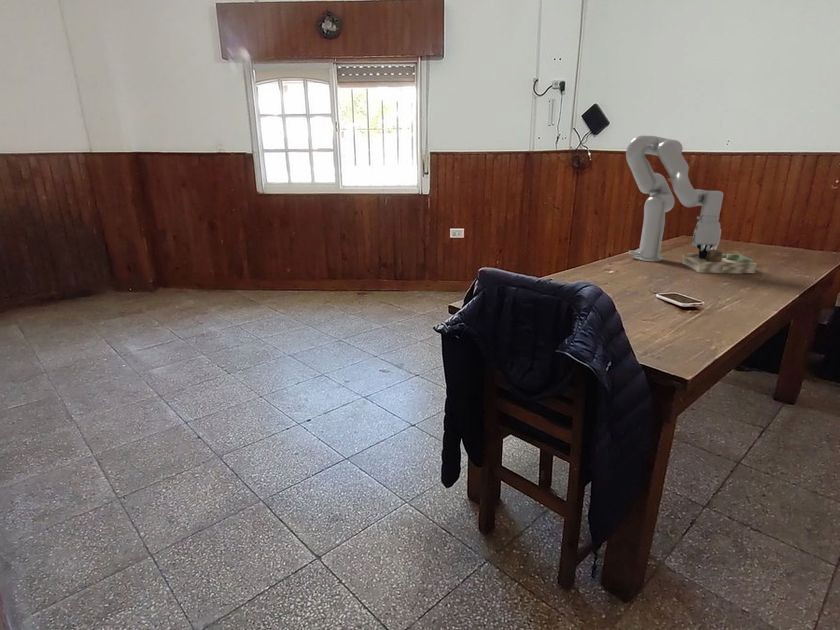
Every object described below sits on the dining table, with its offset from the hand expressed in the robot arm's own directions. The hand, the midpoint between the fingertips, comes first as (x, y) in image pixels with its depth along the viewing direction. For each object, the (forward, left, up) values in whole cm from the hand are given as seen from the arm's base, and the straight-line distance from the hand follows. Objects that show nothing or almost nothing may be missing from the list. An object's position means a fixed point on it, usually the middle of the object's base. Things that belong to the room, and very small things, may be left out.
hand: (701, 258), depth 233 cm
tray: (+7, 0, -4) cm, 9 cm away
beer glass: (+11, +19, -4) cm, 23 cm away
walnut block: (+5, 0, -1) cm, 5 cm away
